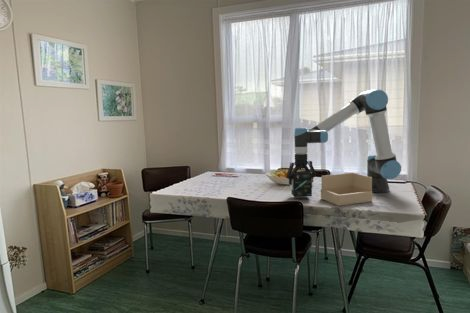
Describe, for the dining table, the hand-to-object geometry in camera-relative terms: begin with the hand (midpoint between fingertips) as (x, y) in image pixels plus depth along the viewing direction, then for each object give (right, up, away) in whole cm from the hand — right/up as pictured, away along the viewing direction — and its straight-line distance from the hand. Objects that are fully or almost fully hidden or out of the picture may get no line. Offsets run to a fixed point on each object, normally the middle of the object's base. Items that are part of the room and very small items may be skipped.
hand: (301, 188), depth 202 cm
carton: (+25, -6, -7) cm, 26 cm away
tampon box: (0, -4, 0) cm, 4 cm away
